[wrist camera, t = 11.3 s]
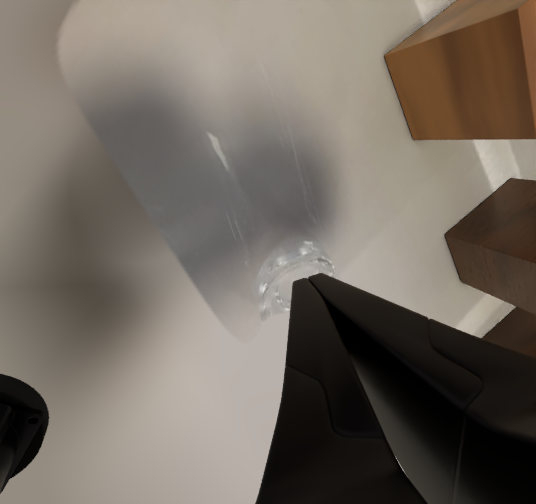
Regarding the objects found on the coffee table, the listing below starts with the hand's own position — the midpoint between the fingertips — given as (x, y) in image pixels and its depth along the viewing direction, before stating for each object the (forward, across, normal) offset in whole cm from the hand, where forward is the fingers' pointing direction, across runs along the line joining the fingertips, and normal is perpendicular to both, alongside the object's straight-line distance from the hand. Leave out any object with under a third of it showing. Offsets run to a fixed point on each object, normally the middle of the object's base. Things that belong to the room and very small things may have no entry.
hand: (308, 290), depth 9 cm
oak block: (+15, -15, -3) cm, 21 cm away
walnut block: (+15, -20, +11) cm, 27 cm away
